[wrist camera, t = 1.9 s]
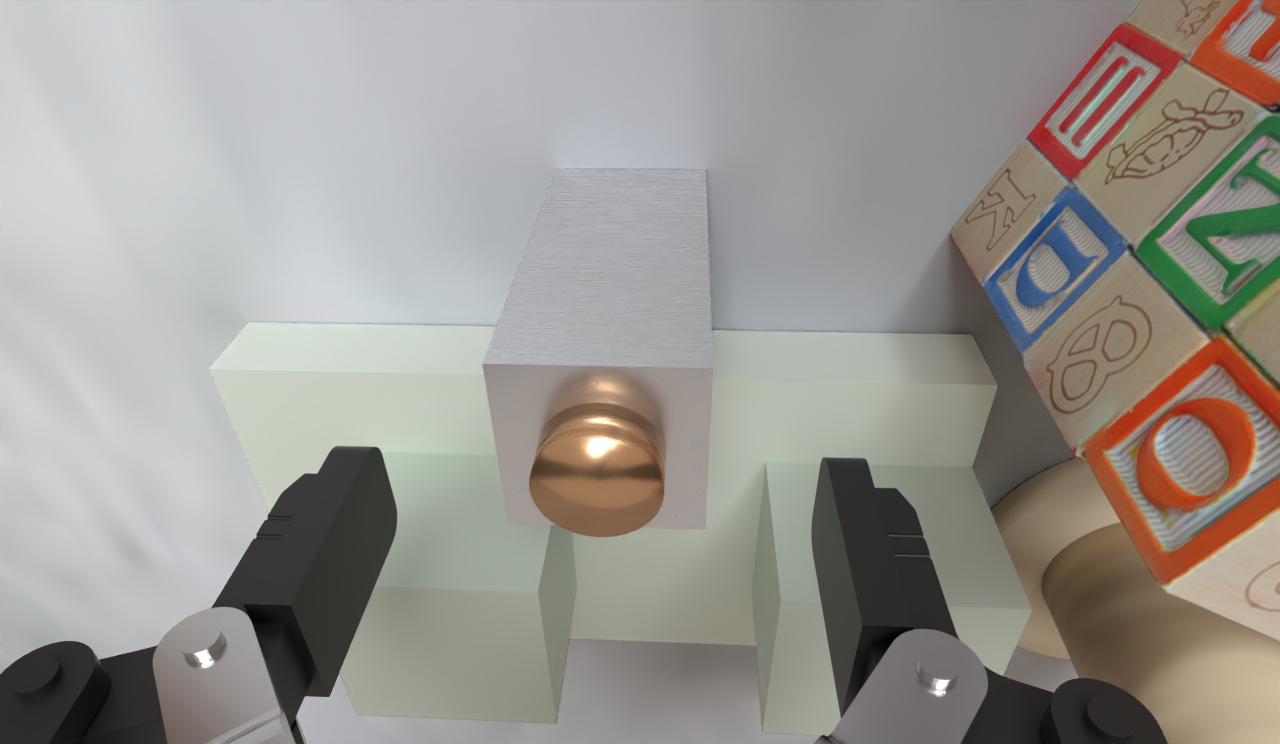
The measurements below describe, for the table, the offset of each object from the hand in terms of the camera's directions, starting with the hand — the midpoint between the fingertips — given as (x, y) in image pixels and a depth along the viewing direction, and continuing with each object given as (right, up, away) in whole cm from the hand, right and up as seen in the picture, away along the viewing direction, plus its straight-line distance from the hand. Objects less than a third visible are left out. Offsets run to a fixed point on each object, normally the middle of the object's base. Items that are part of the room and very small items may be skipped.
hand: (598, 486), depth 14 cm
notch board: (0, -1, +13) cm, 13 cm away
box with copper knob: (+1, +6, +8) cm, 10 cm away
